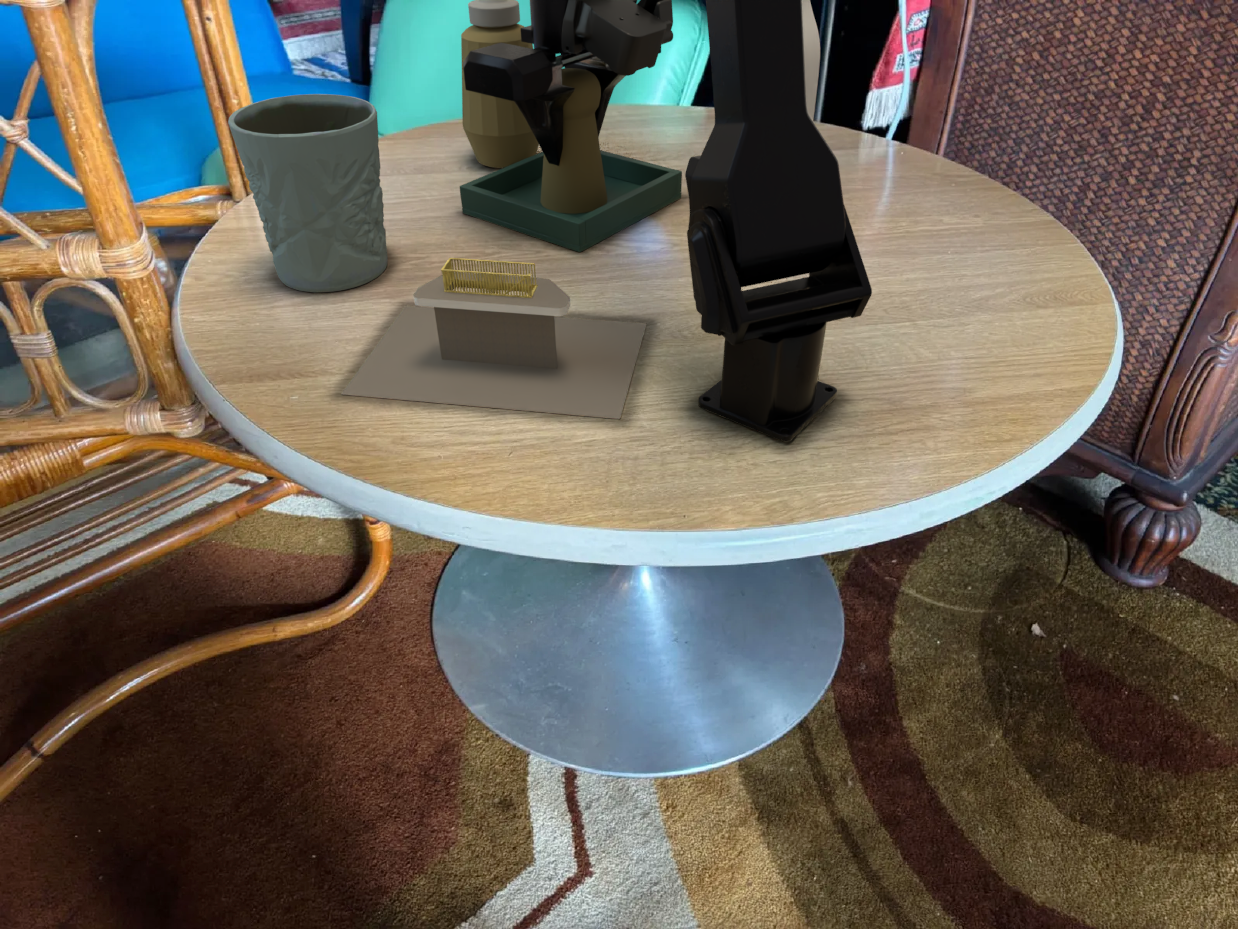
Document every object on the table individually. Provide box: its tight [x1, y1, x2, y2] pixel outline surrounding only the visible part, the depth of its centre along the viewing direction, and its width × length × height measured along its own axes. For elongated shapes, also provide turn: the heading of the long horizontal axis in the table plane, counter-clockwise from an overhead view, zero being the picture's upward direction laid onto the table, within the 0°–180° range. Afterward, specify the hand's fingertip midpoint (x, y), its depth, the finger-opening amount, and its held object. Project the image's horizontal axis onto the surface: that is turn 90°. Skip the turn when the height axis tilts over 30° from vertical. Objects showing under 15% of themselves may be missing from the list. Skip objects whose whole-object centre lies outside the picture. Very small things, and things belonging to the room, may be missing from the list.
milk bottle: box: [802, 0, 821, 122], centre depth 79 cm, size 8×8×20 cm
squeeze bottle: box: [460, 0, 540, 169], centre depth 85 cm, size 8×8×18 cm
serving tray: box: [459, 149, 683, 253], centre depth 80 cm, size 15×14×2 cm
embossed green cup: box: [227, 93, 389, 293], centre depth 68 cm, size 10×10×12 cm
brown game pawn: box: [540, 67, 607, 214], centre depth 77 cm, size 6×6×11 cm
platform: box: [340, 257, 647, 420], centre depth 58 cm, size 12×18×7 cm, turn 81°
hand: (572, 158), depth 78 cm, fingers closed on brown game pawn, 4 cm apart
